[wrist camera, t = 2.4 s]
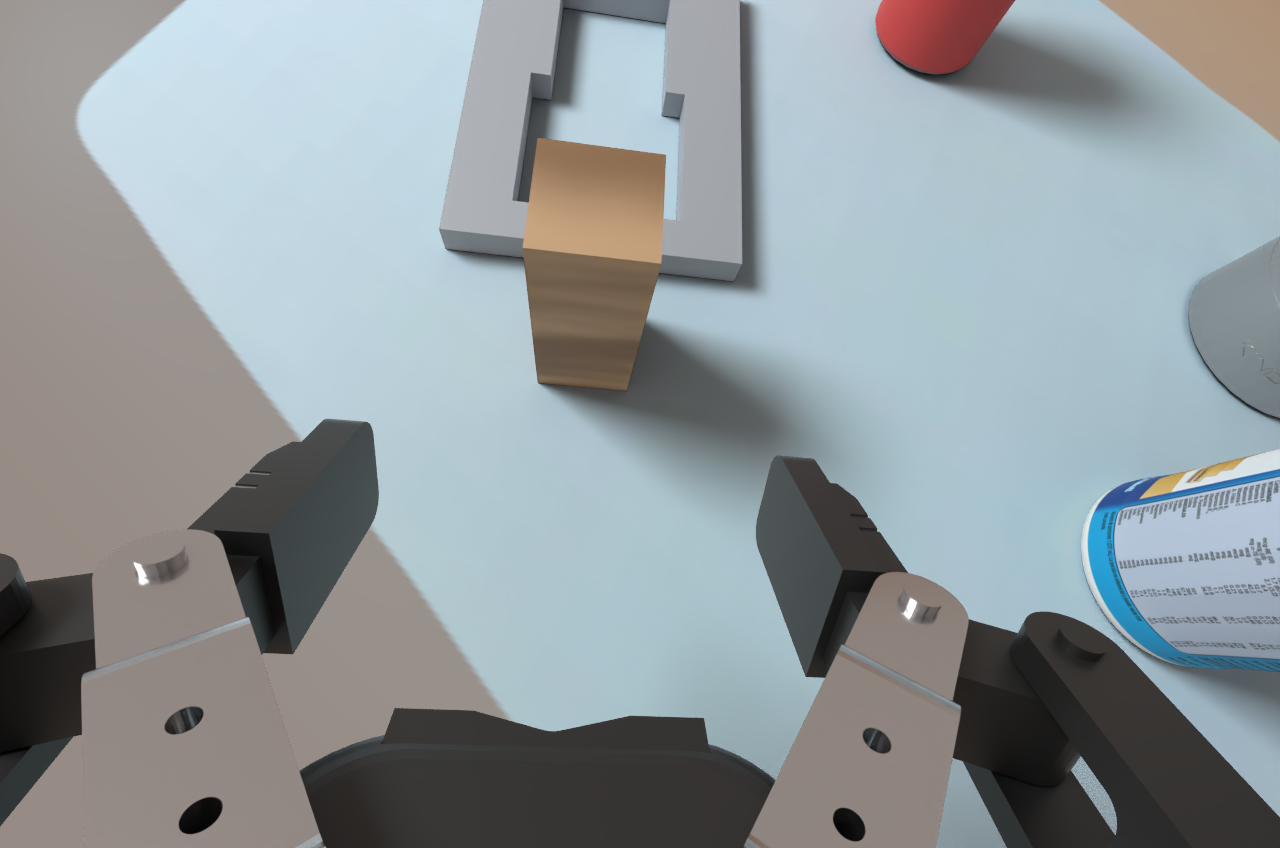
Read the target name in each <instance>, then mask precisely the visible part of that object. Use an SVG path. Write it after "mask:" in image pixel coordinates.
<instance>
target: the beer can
mask: <svg viewBox="0 0 1280 848" xmlns="http://www.w3.org/2000/svg"><path fill="white" fill-rule="evenodd" d="M1014 1H1015V0H882V2H881V4H880V6H879V9H878V12H877V15H876V29H877V35H878V37H879V39H880V41H881V43H882V45H883V47H884V48H885V50H886V51H887V52H888V53H889V54H890V55H891V56H892V57H893V58H894V59H895V60H896V61H898V62H900V63H901V64H903V65H904V66H906V67H907V68H910V69H913V70H915V71H918V72H921V73H928V74H935V75H938V74H946V73H952V72H955V71H957V70H959V69H961V68H963V67H965V66H966V65H968V64H969V62H970V61H971V60H972V59H973V58H974V56H975V55H976V54H977V52H978V51H979V49H980V48H981V47H982V45H983V44H984V43H985V41H986V40H987V38H988V37H989V36H990V34H991V33H992V32H993V30H994V29H995V27H996V26H997V25H998V23H999V22H1000V21H1001V19H1002V18H1003V16H1004V15H1005V14H1006V12H1007V11H1008V10H1009V8H1010V7H1011V5H1012V4H1013V3H1014Z"/></svg>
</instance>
